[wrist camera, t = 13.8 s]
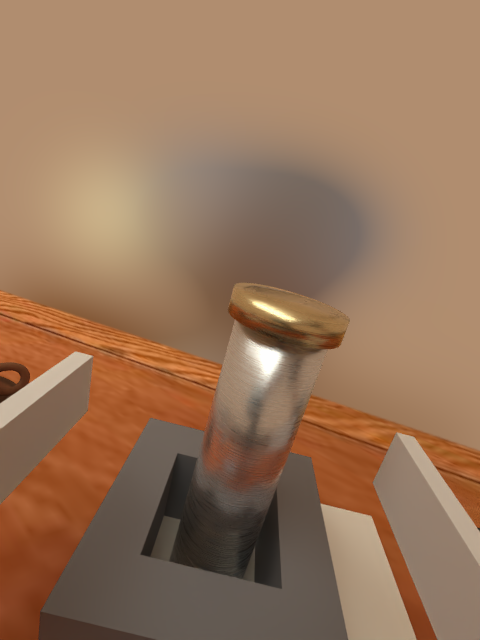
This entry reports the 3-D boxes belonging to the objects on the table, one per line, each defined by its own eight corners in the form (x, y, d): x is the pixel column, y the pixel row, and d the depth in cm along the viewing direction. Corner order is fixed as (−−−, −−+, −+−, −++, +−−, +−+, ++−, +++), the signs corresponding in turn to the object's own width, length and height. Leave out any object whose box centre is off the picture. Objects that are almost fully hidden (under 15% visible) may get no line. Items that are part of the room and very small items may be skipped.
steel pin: (246, 546, 20) (334, 303, 15) (242, 643, 15) (366, 335, 11) (171, 526, 20) (238, 276, 15) (144, 617, 15) (228, 296, 11)
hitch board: (364, 530, 25) (396, 464, 23) (484, 894, 11) (586, 811, 9) (138, 474, 25) (150, 403, 23) (-10, 776, 11) (-11, 667, 9)
